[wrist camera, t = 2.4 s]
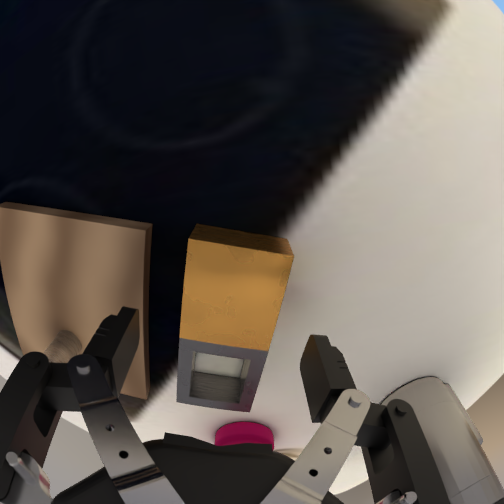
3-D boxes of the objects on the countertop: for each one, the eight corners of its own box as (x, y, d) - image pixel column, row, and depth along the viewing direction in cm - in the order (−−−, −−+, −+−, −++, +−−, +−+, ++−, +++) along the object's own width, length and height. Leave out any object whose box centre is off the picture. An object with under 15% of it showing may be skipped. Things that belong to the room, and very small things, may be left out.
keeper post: (79, 333, 21) (33, 404, 13) (83, 356, 22) (44, 425, 14) (56, 326, 21) (7, 391, 13) (60, 348, 21) (18, 412, 14)
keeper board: (152, 224, 19) (145, 230, 18) (150, 388, 25) (146, 399, 23) (6, 201, 18) (-5, 206, 17) (31, 351, 24) (25, 359, 22)
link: (287, 239, 20) (294, 256, 17) (249, 386, 25) (249, 412, 22) (196, 223, 19) (188, 238, 16) (182, 377, 24) (176, 402, 21)
